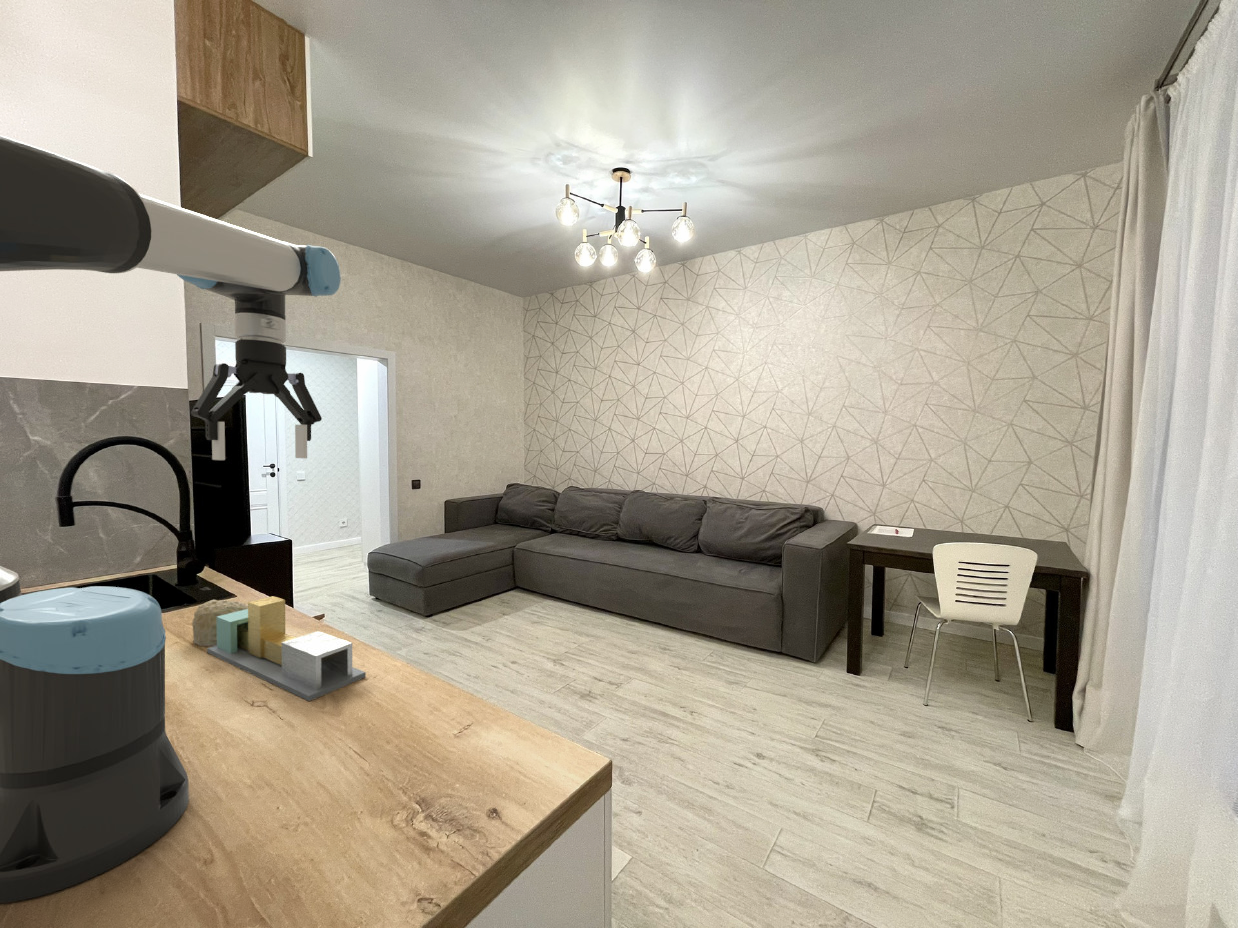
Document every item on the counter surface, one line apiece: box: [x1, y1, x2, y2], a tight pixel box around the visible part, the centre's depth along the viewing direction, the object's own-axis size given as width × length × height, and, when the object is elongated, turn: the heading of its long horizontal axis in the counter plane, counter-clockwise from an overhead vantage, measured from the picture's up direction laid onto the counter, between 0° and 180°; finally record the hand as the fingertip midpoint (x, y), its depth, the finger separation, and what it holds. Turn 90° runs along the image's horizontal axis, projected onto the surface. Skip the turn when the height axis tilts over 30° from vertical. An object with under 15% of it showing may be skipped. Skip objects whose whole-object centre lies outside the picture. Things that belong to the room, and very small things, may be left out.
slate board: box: [206, 645, 367, 702], centre depth 86 cm, size 9×32×1 cm, turn 61°
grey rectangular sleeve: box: [282, 630, 353, 689], centre depth 81 cm, size 6×10×5 cm, turn 61°
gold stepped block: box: [237, 595, 296, 665], centre depth 87 cm, size 4×20×9 cm, turn 61°
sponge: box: [192, 599, 248, 647], centre depth 97 cm, size 9×10×10 cm
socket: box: [216, 609, 248, 654], centre depth 92 cm, size 7×5×6 cm
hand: (262, 459), depth 92 cm, fingers open, 13 cm apart
